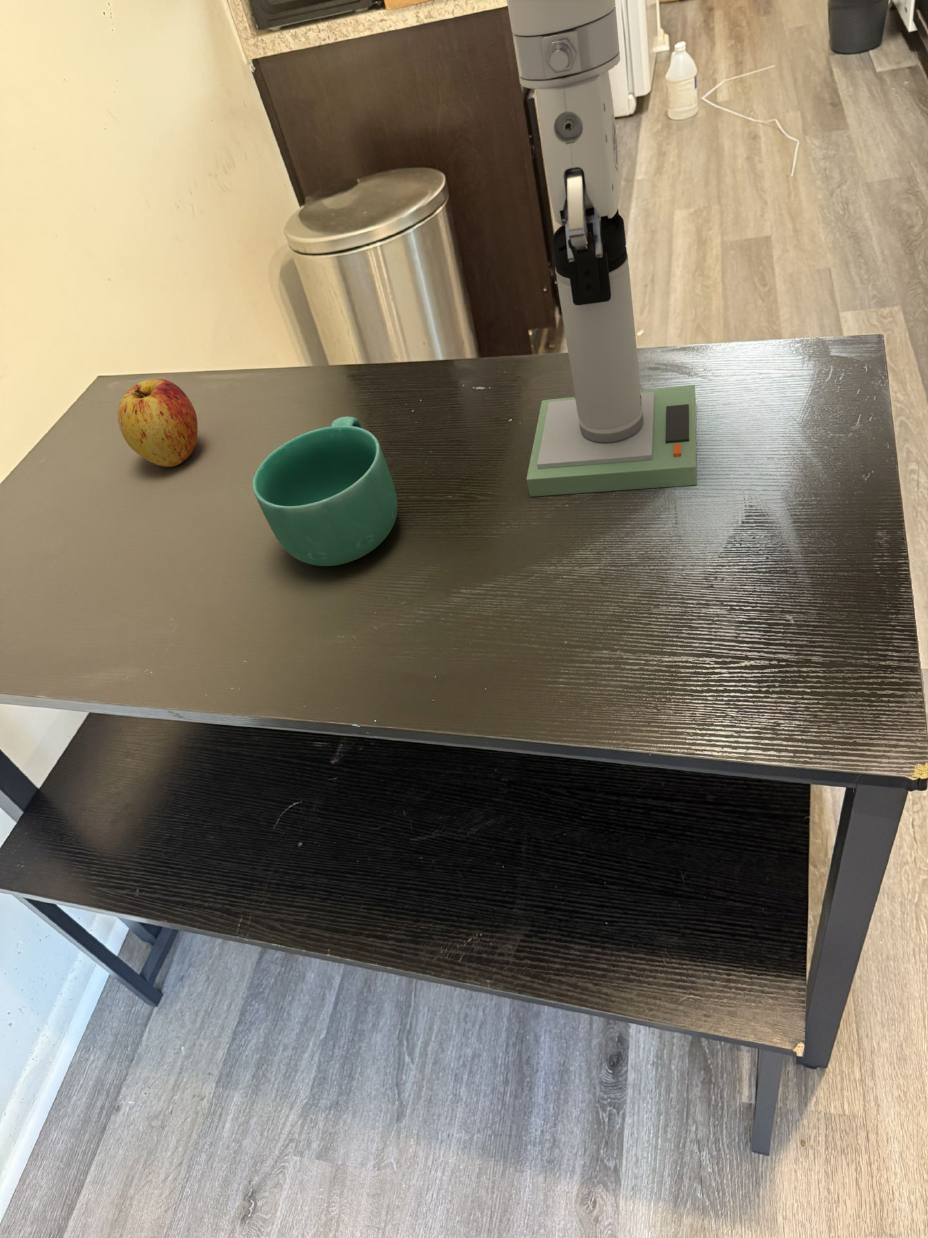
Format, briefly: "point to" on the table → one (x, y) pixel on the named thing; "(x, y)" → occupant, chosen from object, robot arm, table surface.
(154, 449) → the apple
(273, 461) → the mug
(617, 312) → the travel mug
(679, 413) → the scale
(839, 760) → the table surface
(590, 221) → the robot arm
